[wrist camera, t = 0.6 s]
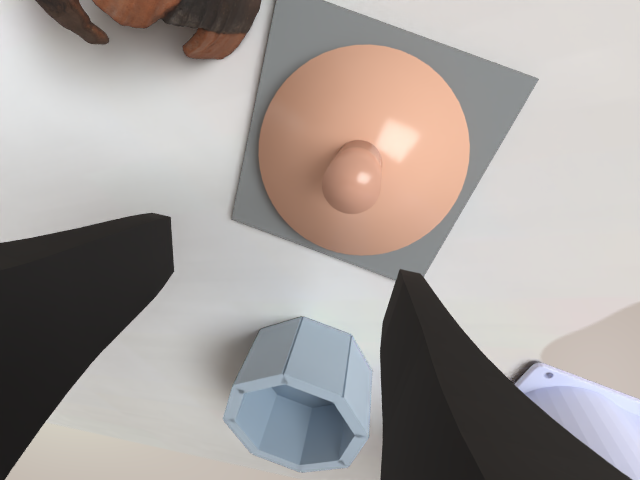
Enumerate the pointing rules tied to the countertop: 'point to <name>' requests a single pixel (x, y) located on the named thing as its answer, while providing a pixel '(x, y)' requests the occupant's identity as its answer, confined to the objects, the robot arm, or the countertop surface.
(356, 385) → the grey octagonal bowl
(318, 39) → the mat
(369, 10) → the countertop surface
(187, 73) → the countertop surface
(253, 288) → the countertop surface
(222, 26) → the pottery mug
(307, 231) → the lid
